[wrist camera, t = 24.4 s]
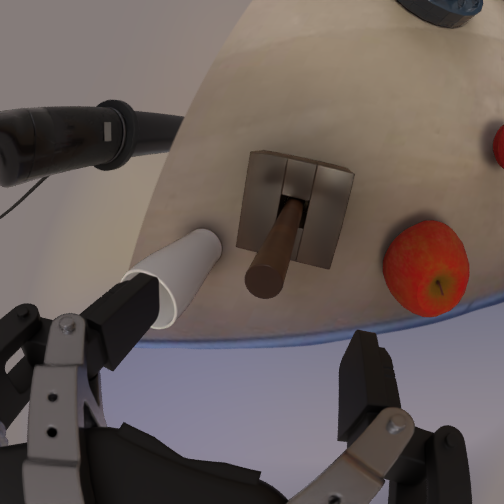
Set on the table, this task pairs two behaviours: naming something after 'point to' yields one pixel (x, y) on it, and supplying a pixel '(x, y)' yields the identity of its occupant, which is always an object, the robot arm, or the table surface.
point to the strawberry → (499, 146)
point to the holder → (302, 187)
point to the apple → (427, 269)
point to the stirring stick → (275, 253)
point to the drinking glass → (179, 272)
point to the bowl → (444, 10)
